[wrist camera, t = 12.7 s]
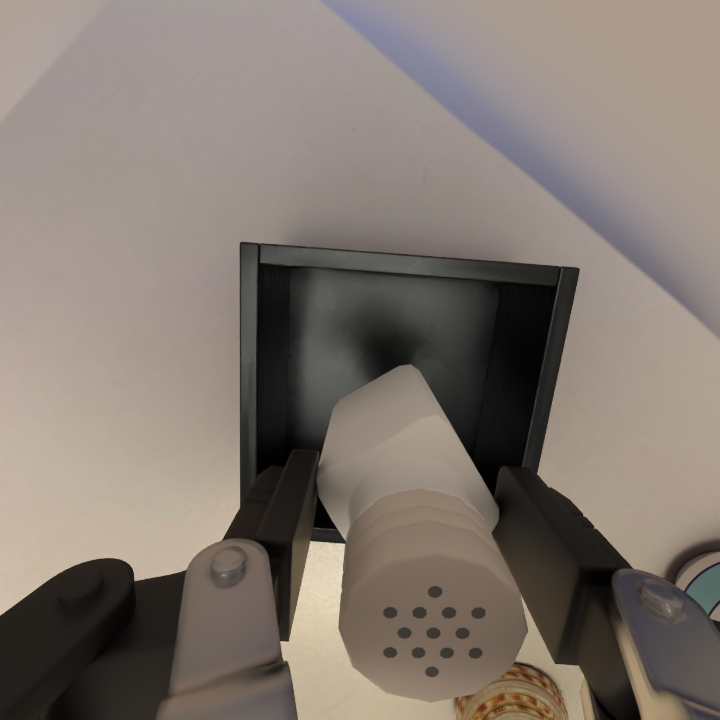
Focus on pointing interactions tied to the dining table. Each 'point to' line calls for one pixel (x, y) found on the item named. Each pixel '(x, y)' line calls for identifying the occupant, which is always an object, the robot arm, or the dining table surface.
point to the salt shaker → (416, 546)
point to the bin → (396, 349)
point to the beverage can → (702, 582)
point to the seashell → (514, 698)
